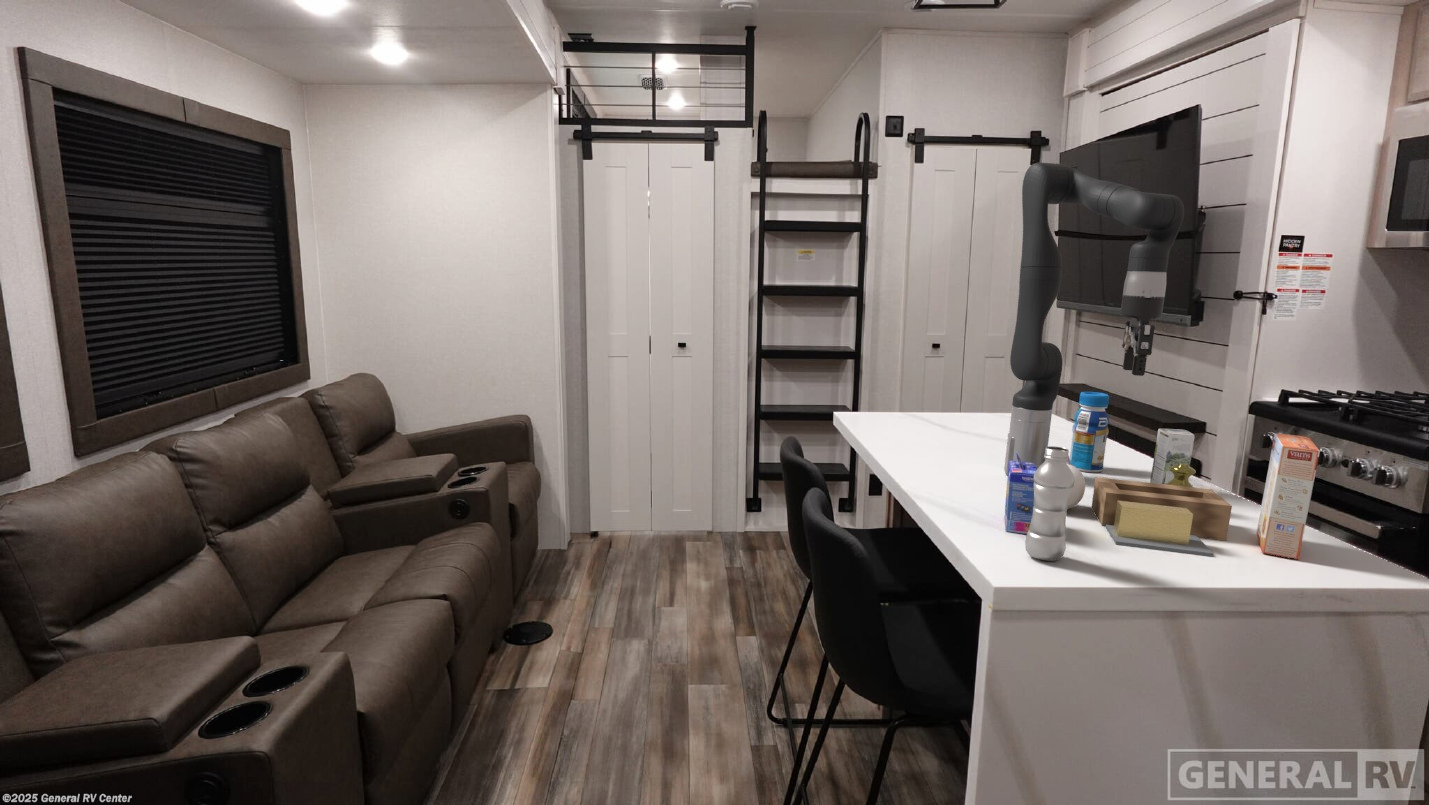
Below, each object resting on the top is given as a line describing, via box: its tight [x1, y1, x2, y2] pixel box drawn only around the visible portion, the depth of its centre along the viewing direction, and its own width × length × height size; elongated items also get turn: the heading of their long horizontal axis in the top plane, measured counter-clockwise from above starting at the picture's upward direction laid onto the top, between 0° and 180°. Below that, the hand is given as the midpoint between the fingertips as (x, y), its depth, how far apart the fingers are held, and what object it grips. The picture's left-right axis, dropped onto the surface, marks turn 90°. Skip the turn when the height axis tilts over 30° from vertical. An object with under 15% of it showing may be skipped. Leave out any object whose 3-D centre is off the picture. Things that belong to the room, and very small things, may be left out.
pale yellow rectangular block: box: [1114, 500, 1193, 545], centre depth 145 cm, size 12×4×6 cm, turn 73°
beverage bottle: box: [1069, 391, 1110, 473], centre depth 197 cm, size 8×8×20 cm
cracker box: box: [1256, 433, 1321, 560], centre depth 143 cm, size 14×6×21 cm, turn 148°
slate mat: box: [1105, 525, 1214, 557], centre depth 145 cm, size 16×10×1 cm, turn 73°
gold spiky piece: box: [1166, 464, 1197, 487], centre depth 166 cm, size 7×7×10 cm
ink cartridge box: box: [1004, 453, 1037, 535], centre depth 150 cm, size 10×6×14 cm, turn 161°
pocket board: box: [1090, 476, 1233, 541], centre depth 156 cm, size 22×12×7 cm, turn 73°
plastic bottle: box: [1024, 445, 1074, 562], centre depth 133 cm, size 6×7×20 cm
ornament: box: [1066, 454, 1086, 510], centre depth 163 cm, size 10×10×12 cm
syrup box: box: [1149, 428, 1196, 484], centre depth 180 cm, size 6×6×14 cm
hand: (1133, 372), depth 158 cm, fingers open, 8 cm apart
